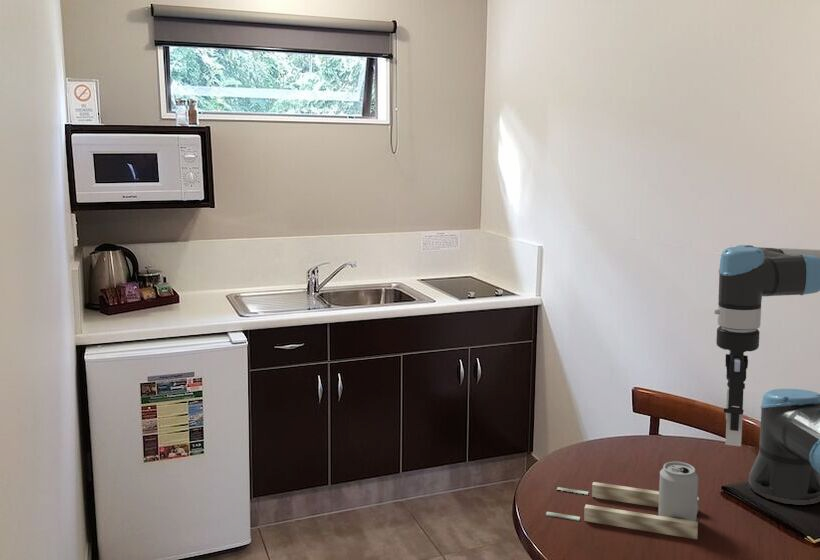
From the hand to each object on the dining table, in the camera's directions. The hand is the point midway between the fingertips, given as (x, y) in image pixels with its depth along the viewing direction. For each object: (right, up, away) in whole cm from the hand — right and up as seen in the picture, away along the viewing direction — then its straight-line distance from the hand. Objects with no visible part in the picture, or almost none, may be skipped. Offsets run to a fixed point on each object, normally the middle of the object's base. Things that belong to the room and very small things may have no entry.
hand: (733, 431), depth 144 cm
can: (-9, -20, +7) cm, 23 cm away
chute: (-19, -19, +11) cm, 29 cm away
